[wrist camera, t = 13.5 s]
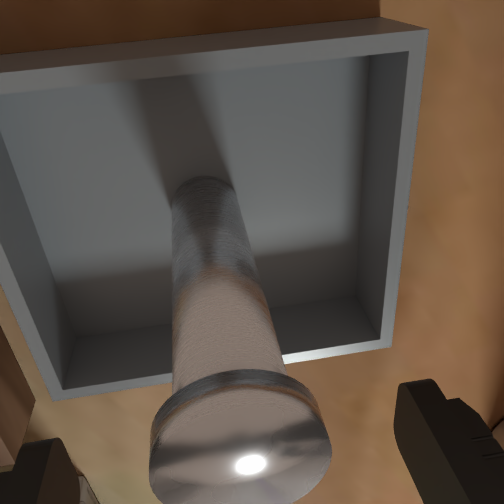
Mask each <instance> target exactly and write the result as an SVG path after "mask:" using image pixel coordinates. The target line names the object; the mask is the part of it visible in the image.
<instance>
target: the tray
mask: <svg viewBox="0 0 504 504" xmlns="http://www.w3.org/2000/svg"><path fill="white" fill-rule="evenodd" d="M428 32H429V29H426V28H422V27H419V26H415V25H411V24H407V23H403V22H399V21H395V20H391V19H387V18H383V17H376V18H366V19H356V20H346V21H336V22H326V23H315V24H305V25H295V26H285V27H275V28H265V29H255V30H245V31H235V32H225V33H215V34H205V35H194V36H184V37H174V38H164V39H154V40H144V41H134V42H124V43H114V44H104V45H94V46H83V47H73V48H63V49H53V50H43V51H33V52H23V53H13V54H3V55H0V284H1V286H2V288H3V291H4V293H5V295H6V297H7V300H8V302H9V304H10V306H11V309H12V311H13V313H14V315H15V317H16V320H17V322H18V324H19V326H20V329H21V331H22V333H23V335H24V338H25V340H26V342H27V344H28V347H29V349H30V351H31V353H32V356H33V358H34V360H35V362H36V365H37V367H38V369H39V371H40V374H41V376H42V378H43V380H44V382H45V385H46V387H47V389H48V391H49V394H50V396H51V398H52V400H53V401H59V400H65V399H71V398H77V397H84V396H90V395H96V394H102V393H108V392H115V391H121V390H127V389H133V388H139V387H146V386H152V385H158V384H164V383H170V382H172V199H173V196H174V194H175V192H176V190H177V189H178V188H179V187H180V186H181V185H182V184H183V183H184V182H186V181H187V180H189V179H191V178H194V177H198V176H213V177H217V178H219V179H222V180H223V181H225V182H226V183H228V184H229V185H230V186H231V187H232V189H233V190H234V192H235V194H236V196H237V199H238V203H239V206H240V210H241V213H242V217H243V220H244V224H245V227H246V231H247V234H248V238H249V242H250V245H251V249H252V252H253V256H254V259H255V263H256V266H257V270H258V273H259V277H260V280H261V284H262V287H263V291H264V294H265V298H266V301H267V305H268V308H269V312H270V315H271V319H272V322H273V326H274V329H275V333H276V337H277V340H278V344H279V347H280V351H281V354H282V358H283V361H284V364H288V363H294V362H300V361H307V360H313V359H319V358H325V357H331V356H338V355H344V354H350V353H356V352H362V351H368V350H375V349H381V348H387V347H391V345H392V336H393V328H394V320H395V311H396V303H397V294H398V286H399V277H400V269H401V260H402V252H403V243H404V235H405V227H406V218H407V210H408V201H409V193H410V184H411V176H412V167H413V159H414V150H415V142H416V134H417V125H418V117H419V108H420V100H421V91H422V83H423V74H424V66H425V57H426V49H427V41H428Z"/></svg>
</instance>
